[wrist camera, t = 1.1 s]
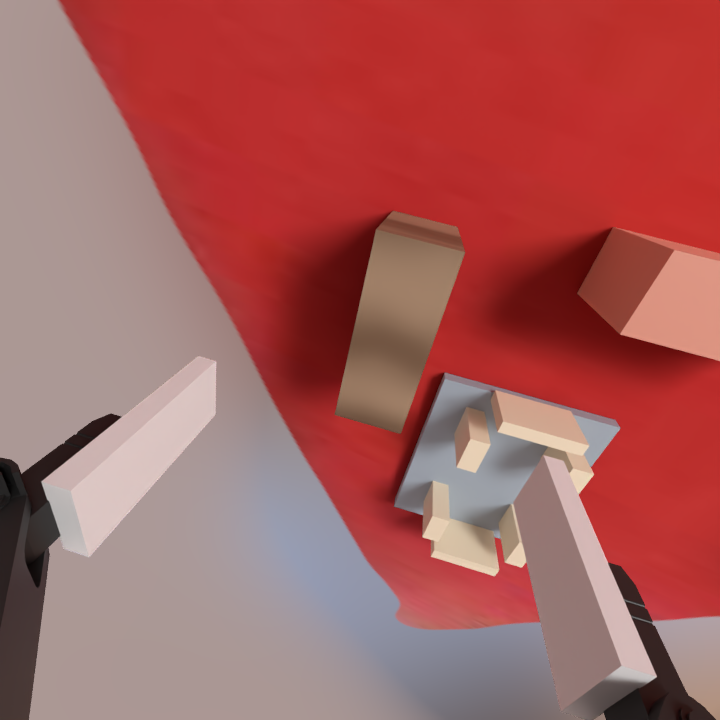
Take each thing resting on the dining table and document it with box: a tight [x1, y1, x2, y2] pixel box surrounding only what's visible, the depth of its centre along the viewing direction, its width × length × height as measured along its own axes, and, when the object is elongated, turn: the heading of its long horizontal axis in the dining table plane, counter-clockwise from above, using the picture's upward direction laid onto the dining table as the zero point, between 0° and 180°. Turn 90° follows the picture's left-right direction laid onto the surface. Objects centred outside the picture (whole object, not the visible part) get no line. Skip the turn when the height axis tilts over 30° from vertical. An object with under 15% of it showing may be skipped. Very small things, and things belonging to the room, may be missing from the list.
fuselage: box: [335, 211, 465, 434], centre depth 24 cm, size 12×4×8 cm, turn 168°
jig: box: [394, 373, 620, 576], centre depth 31 cm, size 16×14×5 cm
